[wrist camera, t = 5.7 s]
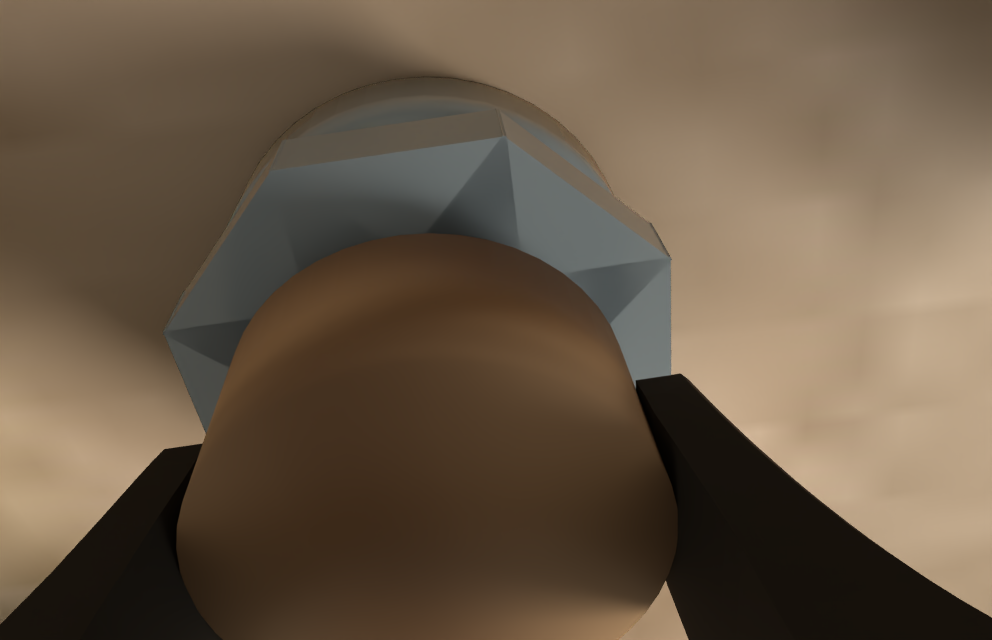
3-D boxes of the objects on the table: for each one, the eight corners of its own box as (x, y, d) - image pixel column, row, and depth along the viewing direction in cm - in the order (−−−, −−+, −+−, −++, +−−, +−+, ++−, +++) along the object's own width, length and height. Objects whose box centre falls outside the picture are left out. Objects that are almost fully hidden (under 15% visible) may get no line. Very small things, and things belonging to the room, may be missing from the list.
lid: (625, 207, 10) (686, 326, 8) (628, 522, 13) (673, 675, 11) (172, 264, 10) (96, 400, 8) (284, 567, 13) (253, 731, 11)
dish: (615, 45, 14) (671, 111, 11) (629, 394, 18) (672, 514, 15) (175, 110, 14) (103, 193, 11) (291, 444, 18) (264, 574, 15)
